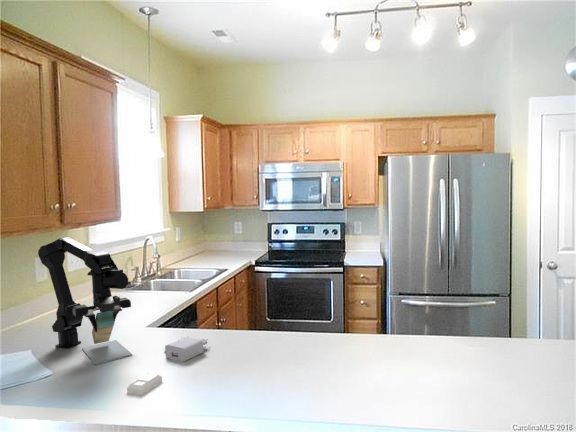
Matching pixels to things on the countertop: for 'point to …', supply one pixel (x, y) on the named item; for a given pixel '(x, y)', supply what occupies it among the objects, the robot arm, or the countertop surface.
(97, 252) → the robot arm
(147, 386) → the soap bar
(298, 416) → the countertop surface
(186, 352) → the charger
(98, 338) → the oak block
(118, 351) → the mat
